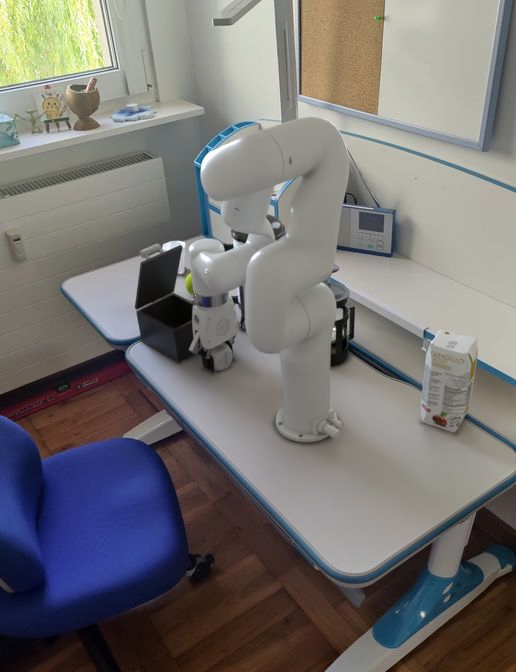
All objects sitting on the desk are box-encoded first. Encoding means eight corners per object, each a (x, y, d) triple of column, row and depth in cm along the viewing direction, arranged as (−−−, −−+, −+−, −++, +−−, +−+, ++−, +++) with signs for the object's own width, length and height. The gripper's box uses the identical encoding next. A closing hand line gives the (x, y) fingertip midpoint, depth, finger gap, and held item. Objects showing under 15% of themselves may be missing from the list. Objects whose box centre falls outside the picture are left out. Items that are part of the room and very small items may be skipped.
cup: (184, 263, 199) (181, 238, 194) (196, 276, 191) (193, 251, 186) (162, 268, 196) (158, 243, 192) (173, 282, 189) (169, 256, 184)
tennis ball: (181, 295, 182) (178, 272, 178) (201, 286, 186) (198, 263, 182) (197, 303, 178) (194, 280, 174) (217, 294, 181) (214, 271, 177)
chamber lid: (182, 246, 153) (168, 233, 155) (142, 264, 147) (128, 250, 148) (174, 291, 165) (161, 278, 167) (136, 310, 158) (123, 296, 160)
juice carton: (458, 437, 128) (470, 357, 118) (415, 423, 132) (424, 344, 122) (470, 415, 134) (483, 336, 123) (429, 402, 138) (438, 325, 127)
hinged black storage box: (215, 342, 161) (211, 311, 156) (178, 363, 155) (173, 331, 150) (177, 322, 170) (173, 292, 165) (141, 341, 164) (135, 310, 159)
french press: (319, 372, 149) (319, 281, 136) (298, 352, 156) (296, 264, 143) (362, 357, 153) (366, 267, 140) (341, 338, 160) (342, 251, 147)
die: (217, 373, 150) (215, 355, 148) (203, 364, 154) (201, 347, 151) (233, 364, 153) (232, 346, 150) (220, 356, 156) (218, 338, 153)
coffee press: (268, 297, 178) (263, 190, 161) (304, 321, 167) (301, 209, 150) (213, 318, 171) (201, 208, 154) (246, 345, 159) (237, 230, 143)
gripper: (192, 317, 136) (201, 387, 146) (251, 286, 146) (256, 353, 156) (169, 305, 140) (179, 374, 151) (228, 276, 150) (234, 342, 160)
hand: (218, 363), depth 153 cm, fingers closed on die, 5 cm apart
